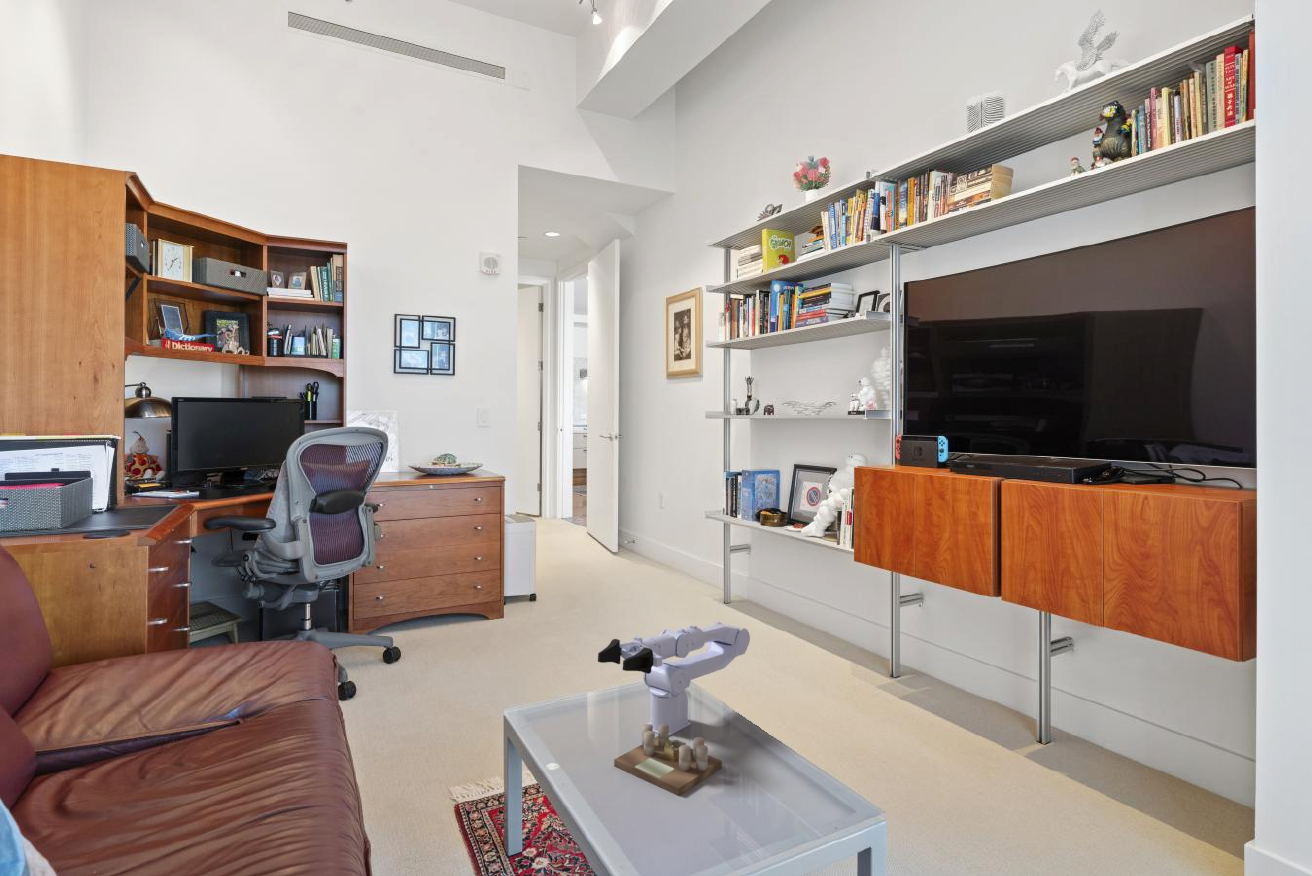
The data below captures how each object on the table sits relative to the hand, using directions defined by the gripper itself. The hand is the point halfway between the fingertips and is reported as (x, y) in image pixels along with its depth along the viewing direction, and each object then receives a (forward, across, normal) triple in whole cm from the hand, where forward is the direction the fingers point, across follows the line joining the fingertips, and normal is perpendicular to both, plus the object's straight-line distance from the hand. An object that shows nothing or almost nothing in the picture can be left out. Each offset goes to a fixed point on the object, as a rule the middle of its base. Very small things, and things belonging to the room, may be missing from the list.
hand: (611, 661), depth 156 cm
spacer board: (-6, +13, +21) cm, 25 cm away
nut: (-8, +13, +19) cm, 25 cm away
